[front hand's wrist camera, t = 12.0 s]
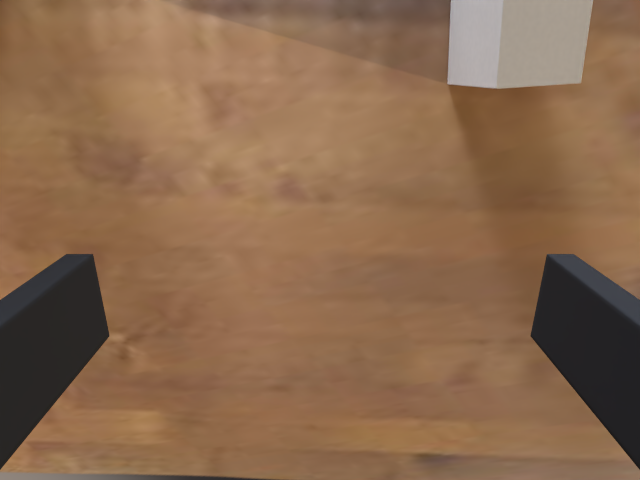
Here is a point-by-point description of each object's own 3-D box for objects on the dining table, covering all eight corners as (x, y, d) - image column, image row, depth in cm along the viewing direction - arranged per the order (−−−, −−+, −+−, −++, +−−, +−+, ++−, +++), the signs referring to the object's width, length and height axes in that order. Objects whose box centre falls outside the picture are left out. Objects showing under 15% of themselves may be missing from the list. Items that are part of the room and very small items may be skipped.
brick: (451, -7, 34) (506, -40, 24) (517, -12, 34) (600, -47, 24) (447, 84, 36) (495, 89, 26) (509, 80, 36) (581, 83, 26)
